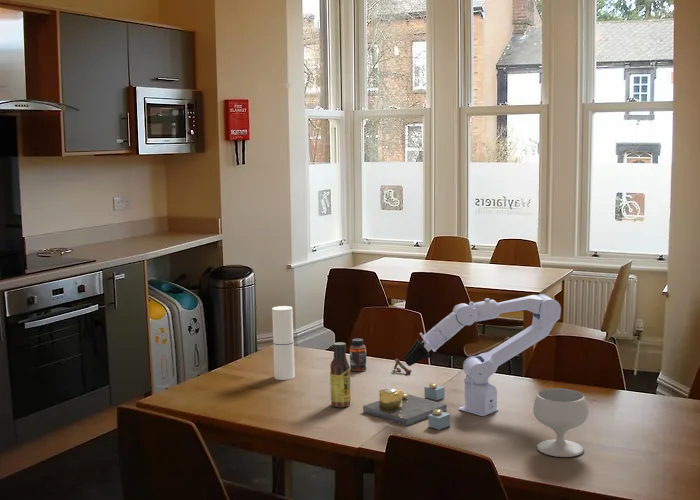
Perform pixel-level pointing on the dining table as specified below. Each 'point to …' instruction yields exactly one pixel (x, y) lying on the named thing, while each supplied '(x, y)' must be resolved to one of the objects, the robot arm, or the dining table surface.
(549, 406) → the chalice
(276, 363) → the cylindrical container
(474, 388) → the robot arm
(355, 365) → the supplement bottle
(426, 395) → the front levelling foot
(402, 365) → the brown angled frame
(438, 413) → the block with brass knob
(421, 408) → the base
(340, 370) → the sauce bottle
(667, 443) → the dining table surface
